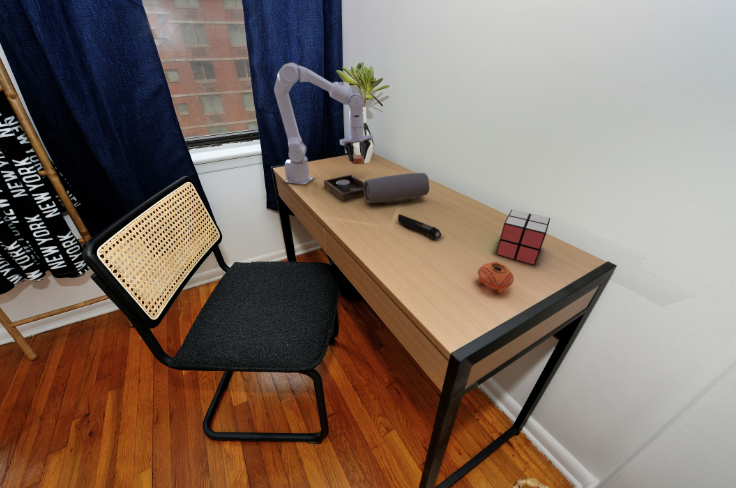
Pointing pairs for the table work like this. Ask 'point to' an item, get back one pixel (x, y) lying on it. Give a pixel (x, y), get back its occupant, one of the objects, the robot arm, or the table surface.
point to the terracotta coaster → (358, 159)
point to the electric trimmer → (420, 226)
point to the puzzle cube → (523, 236)
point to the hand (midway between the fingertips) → (357, 159)
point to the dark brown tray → (349, 194)
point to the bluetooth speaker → (396, 188)
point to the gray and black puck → (343, 184)
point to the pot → (495, 276)
